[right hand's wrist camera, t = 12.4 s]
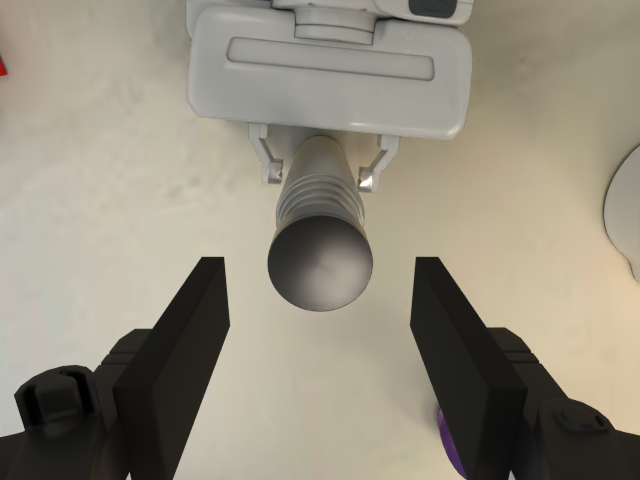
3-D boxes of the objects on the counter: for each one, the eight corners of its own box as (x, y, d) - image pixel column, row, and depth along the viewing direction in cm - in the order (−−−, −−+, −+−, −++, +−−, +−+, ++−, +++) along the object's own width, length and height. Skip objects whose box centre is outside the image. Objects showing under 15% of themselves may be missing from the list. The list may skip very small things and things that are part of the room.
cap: (294, 304, 19) (292, 324, 18) (256, 223, 18) (249, 238, 16) (380, 273, 19) (387, 292, 17) (348, 188, 17) (351, 199, 16)
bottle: (306, 194, 40) (289, 328, 18) (286, 147, 39) (241, 230, 17) (353, 176, 40) (395, 291, 18) (334, 127, 38) (355, 186, 16)
